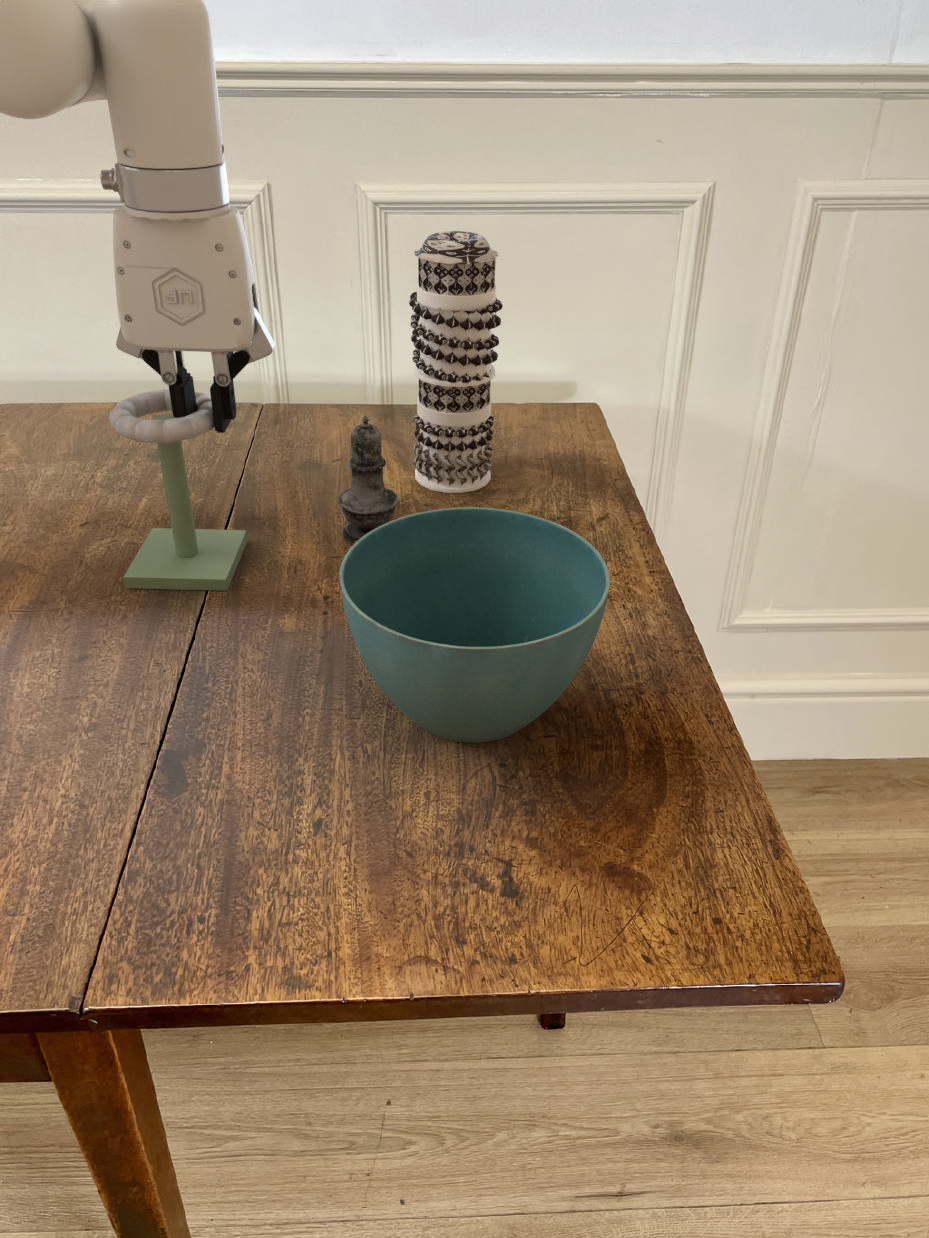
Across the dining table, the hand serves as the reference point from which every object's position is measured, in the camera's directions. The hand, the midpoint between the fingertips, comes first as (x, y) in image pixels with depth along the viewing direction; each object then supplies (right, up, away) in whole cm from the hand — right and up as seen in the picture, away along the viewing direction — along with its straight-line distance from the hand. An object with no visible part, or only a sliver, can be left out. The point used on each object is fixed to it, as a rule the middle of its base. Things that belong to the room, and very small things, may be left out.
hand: (206, 424), depth 79 cm
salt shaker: (+12, -8, +14) cm, 20 cm away
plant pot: (+22, -23, -9) cm, 33 cm away
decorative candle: (+20, -1, +25) cm, 32 cm away
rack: (-4, -11, +8) cm, 14 cm away
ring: (-3, +1, 0) cm, 3 cm away
